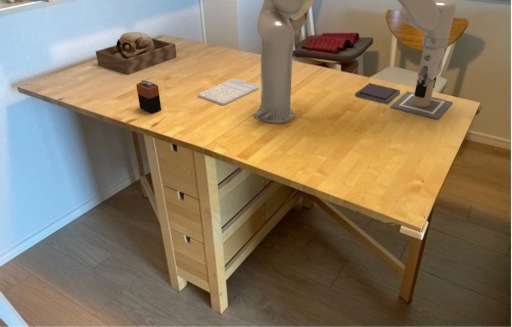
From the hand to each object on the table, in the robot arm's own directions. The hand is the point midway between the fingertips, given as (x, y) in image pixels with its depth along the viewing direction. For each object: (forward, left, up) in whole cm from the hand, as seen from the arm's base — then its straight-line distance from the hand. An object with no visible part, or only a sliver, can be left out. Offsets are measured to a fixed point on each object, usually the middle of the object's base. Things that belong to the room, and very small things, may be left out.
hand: (424, 92), depth 146 cm
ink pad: (0, +16, -5) cm, 17 cm away
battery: (-57, +73, -5) cm, 93 cm away
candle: (0, 0, -4) cm, 5 cm away
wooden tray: (-26, +116, -5) cm, 119 cm away
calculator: (-30, +61, -6) cm, 68 cm away
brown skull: (-28, +116, -5) cm, 120 cm away
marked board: (0, 0, -5) cm, 5 cm away
